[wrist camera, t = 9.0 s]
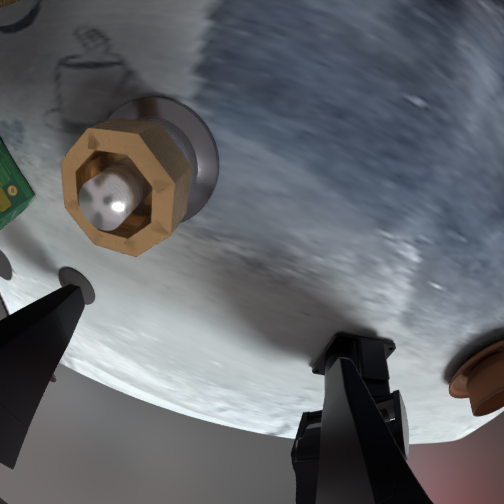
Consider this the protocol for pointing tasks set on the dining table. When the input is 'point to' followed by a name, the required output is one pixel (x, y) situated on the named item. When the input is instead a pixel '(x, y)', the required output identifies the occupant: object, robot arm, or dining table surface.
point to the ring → (151, 166)
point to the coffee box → (12, 189)
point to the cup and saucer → (482, 380)
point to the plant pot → (6, 2)
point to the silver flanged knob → (130, 177)
